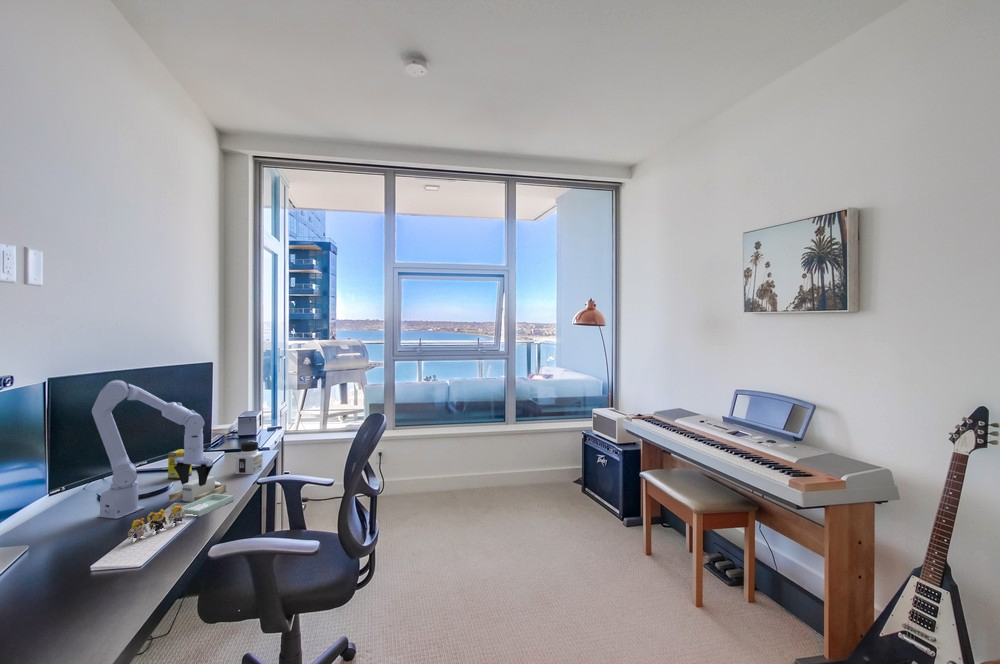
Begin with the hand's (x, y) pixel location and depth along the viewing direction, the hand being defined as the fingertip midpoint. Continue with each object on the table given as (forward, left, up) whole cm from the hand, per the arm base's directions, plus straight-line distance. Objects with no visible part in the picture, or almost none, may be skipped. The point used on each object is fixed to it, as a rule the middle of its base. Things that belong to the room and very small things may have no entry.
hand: (193, 484), depth 164 cm
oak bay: (+2, 0, -5) cm, 6 cm away
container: (+32, +4, -5) cm, 33 cm away
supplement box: (+19, +26, -5) cm, 33 cm away
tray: (-6, -11, -5) cm, 14 cm away
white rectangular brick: (+2, 0, -5) cm, 6 cm away
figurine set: (-25, -13, -6) cm, 29 cm away
